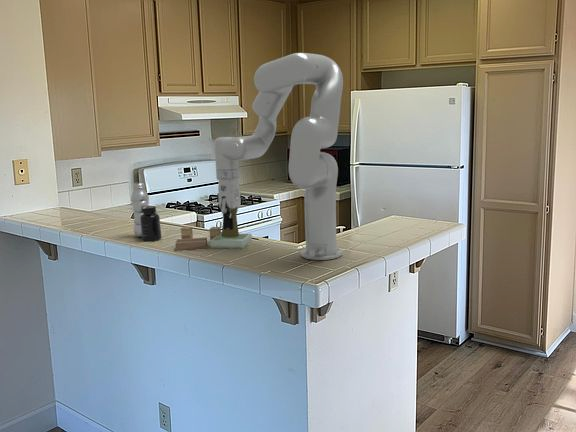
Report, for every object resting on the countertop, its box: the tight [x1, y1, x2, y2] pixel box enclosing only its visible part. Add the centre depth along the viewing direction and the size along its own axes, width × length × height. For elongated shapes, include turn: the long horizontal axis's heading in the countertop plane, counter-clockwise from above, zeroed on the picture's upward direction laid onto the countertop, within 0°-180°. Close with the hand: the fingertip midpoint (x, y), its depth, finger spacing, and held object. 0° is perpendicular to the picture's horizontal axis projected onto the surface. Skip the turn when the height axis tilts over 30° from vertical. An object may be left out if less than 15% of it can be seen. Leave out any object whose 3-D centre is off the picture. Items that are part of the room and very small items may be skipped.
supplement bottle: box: [140, 205, 162, 242], centre depth 205 cm, size 7×7×12 cm
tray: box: [209, 232, 253, 249], centre depth 194 cm, size 11×11×2 cm
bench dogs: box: [180, 226, 222, 241], centre depth 199 cm, size 3×14×5 cm, turn 77°
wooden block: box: [174, 237, 208, 251], centre depth 191 cm, size 6×10×3 cm, turn 94°
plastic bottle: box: [130, 182, 150, 238], centre depth 210 cm, size 6×7×20 cm
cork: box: [221, 207, 240, 238], centre depth 193 cm, size 6×6×11 cm
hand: (230, 227), depth 193 cm, fingers closed on cork, 3 cm apart
